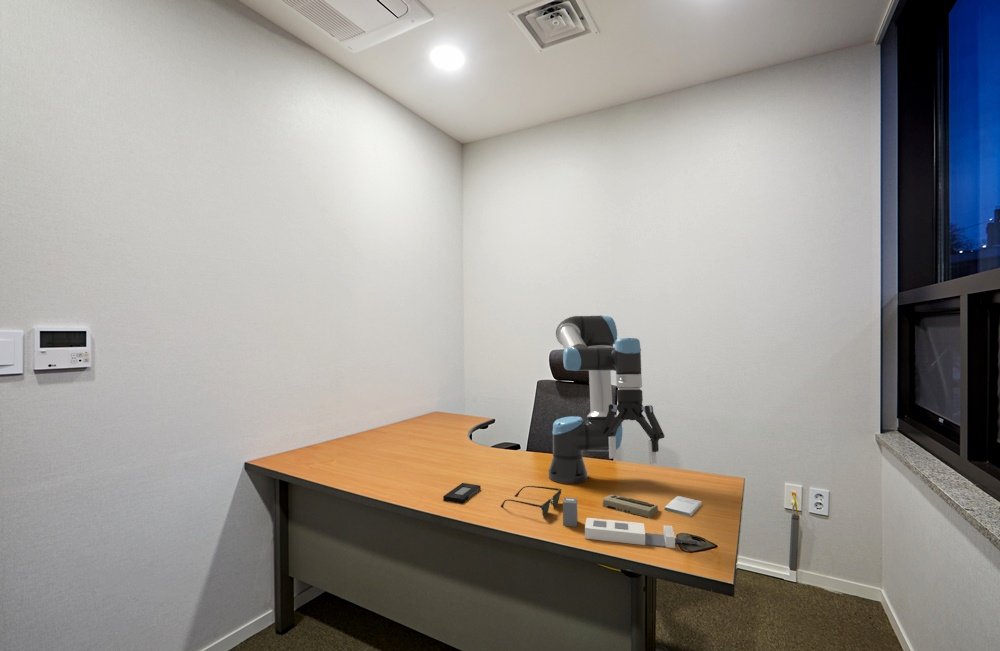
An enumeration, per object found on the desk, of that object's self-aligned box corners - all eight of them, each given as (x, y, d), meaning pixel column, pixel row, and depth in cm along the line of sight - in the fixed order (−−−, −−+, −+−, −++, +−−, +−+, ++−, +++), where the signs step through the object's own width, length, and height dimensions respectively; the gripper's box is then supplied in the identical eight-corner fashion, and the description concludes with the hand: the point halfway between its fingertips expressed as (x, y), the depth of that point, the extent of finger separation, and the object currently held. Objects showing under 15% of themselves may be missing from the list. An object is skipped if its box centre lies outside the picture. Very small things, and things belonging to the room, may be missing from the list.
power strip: (586, 527, 136) (586, 517, 136) (694, 538, 129) (694, 527, 129) (584, 538, 130) (584, 527, 130) (699, 551, 122) (699, 539, 122)
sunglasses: (518, 494, 164) (518, 480, 164) (562, 503, 156) (562, 488, 156) (495, 511, 150) (495, 495, 150) (543, 521, 141) (543, 505, 141)
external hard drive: (664, 511, 149) (676, 499, 158) (690, 518, 144) (701, 505, 153) (664, 506, 149) (676, 495, 158) (690, 513, 144) (701, 500, 153)
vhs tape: (480, 490, 168) (480, 485, 168) (462, 505, 155) (462, 499, 155) (462, 488, 171) (462, 482, 171) (443, 501, 158) (443, 496, 158)
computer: (658, 511, 149) (658, 501, 149) (649, 520, 142) (649, 509, 142) (612, 500, 158) (612, 490, 158) (602, 508, 152) (602, 498, 152)
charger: (564, 519, 142) (564, 496, 142) (577, 521, 141) (577, 497, 141) (562, 525, 138) (562, 501, 138) (576, 526, 137) (576, 502, 137)
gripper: (588, 388, 146) (590, 457, 143) (661, 389, 128) (665, 467, 125) (602, 388, 151) (604, 454, 148) (674, 388, 133) (678, 464, 130)
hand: (632, 460), depth 137 cm, fingers open, 13 cm apart
